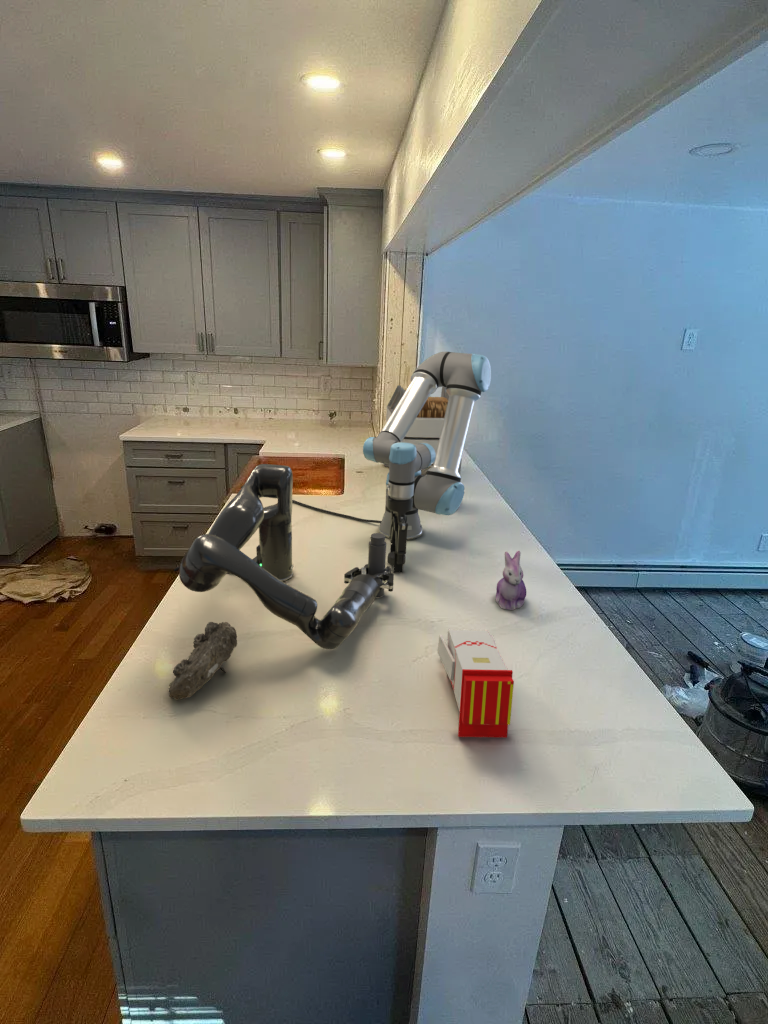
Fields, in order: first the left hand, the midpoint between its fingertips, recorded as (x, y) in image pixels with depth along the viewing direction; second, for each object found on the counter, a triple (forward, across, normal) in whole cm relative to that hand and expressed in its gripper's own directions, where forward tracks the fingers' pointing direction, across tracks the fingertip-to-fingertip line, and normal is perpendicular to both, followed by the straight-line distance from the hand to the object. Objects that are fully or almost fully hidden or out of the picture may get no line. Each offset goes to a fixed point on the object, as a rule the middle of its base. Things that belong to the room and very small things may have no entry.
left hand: (379, 567), depth 157 cm
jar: (-3, 0, -7) cm, 7 cm away
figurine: (+6, +36, -7) cm, 37 cm away
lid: (+16, +1, -3) cm, 16 cm away
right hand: (+16, +1, -7) cm, 17 cm away
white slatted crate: (+122, -18, -7) cm, 124 cm away
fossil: (-49, -22, -7) cm, 55 cm away
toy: (-36, +32, -7) cm, 49 cm away
